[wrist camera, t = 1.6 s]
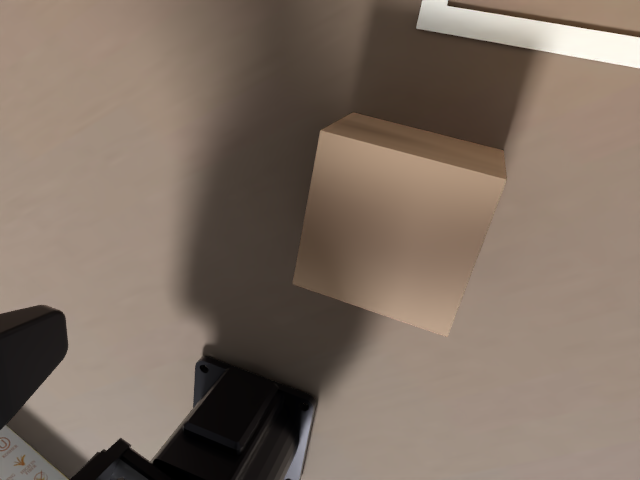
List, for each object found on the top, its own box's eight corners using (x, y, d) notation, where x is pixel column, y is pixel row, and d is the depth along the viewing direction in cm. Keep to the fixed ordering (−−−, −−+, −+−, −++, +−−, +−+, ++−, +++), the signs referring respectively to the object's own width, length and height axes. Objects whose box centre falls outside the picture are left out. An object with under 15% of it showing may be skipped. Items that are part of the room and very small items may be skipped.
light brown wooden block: (455, 281, 19) (447, 337, 15) (326, 241, 20) (292, 284, 17) (503, 149, 16) (506, 179, 13) (353, 111, 18) (320, 130, 14)
